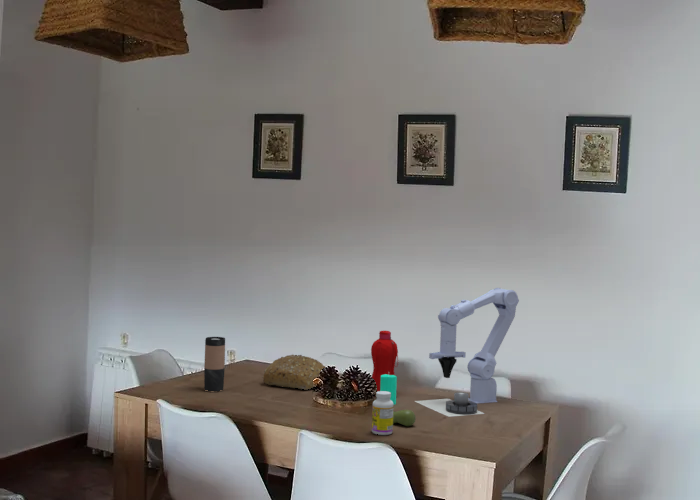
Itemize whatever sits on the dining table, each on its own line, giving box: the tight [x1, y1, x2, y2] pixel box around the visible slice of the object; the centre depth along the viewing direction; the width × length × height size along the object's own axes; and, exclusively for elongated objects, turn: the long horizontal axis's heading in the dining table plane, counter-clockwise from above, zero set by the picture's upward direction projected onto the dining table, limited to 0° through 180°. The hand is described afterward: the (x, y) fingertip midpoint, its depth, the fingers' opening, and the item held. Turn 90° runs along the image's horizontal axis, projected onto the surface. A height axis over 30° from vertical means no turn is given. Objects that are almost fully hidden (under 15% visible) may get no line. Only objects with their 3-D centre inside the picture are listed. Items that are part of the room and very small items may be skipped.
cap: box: [453, 391, 470, 406], centre depth 282 cm, size 5×5×5 cm
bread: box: [261, 354, 326, 391], centre depth 318 cm, size 24×21×12 cm
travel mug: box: [203, 336, 226, 391], centre depth 303 cm, size 8×8×20 cm
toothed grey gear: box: [446, 399, 478, 416], centre depth 282 cm, size 11×11×3 cm
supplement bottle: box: [371, 391, 395, 436], centre depth 250 cm, size 7×7×13 cm
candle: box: [380, 374, 398, 405], centre depth 289 cm, size 6×6×12 cm
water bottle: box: [370, 330, 399, 394], centre depth 302 cm, size 9×11×25 cm
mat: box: [414, 398, 486, 418], centre depth 287 cm, size 15×24×1 cm, turn 25°
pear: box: [393, 409, 417, 427], centre depth 262 cm, size 6×5×10 cm
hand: (446, 377), depth 293 cm, fingers closed
